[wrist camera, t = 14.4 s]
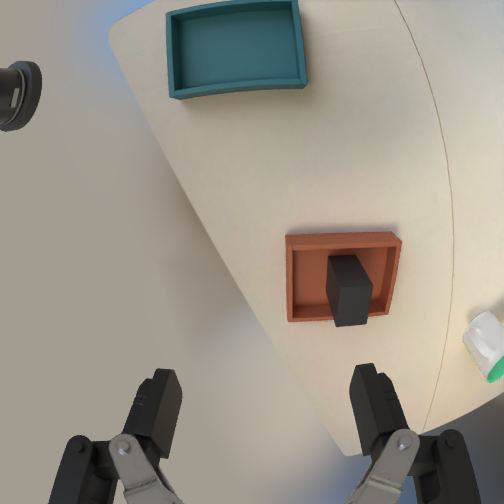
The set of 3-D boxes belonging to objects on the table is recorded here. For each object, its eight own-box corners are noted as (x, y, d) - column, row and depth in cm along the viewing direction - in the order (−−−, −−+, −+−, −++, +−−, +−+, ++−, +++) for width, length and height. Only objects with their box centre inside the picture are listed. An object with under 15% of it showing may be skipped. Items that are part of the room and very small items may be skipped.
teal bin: (178, 100, 26) (169, 97, 23) (174, 21, 22) (165, 12, 19) (303, 88, 25) (307, 84, 22) (294, 8, 21) (297, -3, 18)
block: (325, 291, 34) (335, 327, 28) (327, 255, 32) (340, 287, 26) (351, 289, 34) (366, 324, 27) (355, 254, 32) (373, 285, 25)
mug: (444, 337, 38) (468, 379, 28) (471, 300, 34) (503, 339, 25) (475, 347, 39) (497, 383, 30) (498, 316, 36) (525, 349, 26)
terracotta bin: (286, 307, 36) (287, 322, 33) (285, 234, 32) (286, 245, 29) (381, 301, 35) (388, 314, 32) (391, 231, 31) (402, 241, 28)
